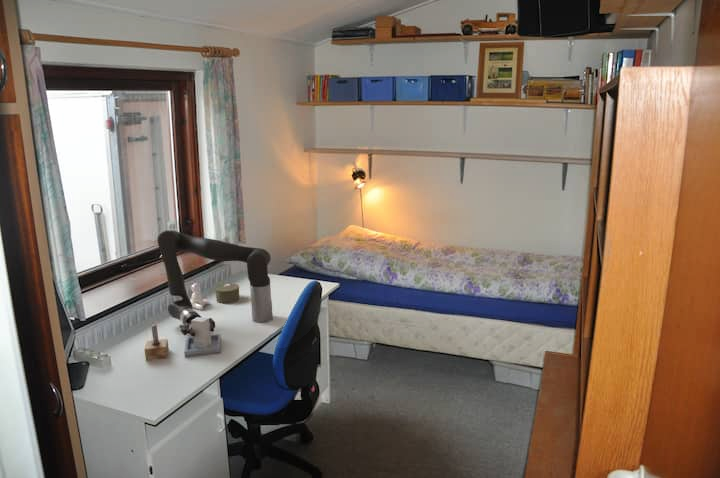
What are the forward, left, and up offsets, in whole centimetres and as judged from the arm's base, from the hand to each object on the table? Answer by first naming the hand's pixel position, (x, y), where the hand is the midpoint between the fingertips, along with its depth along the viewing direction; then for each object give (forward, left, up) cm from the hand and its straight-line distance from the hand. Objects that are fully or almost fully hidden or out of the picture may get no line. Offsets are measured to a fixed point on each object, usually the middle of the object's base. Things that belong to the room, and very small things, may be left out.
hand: (203, 332), depth 231 cm
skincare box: (+1, -2, -7) cm, 8 cm away
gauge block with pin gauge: (+19, 0, -8) cm, 20 cm away
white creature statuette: (+5, -52, -8) cm, 53 cm away
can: (-10, -58, -8) cm, 59 cm away
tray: (+1, -2, -8) cm, 8 cm away
